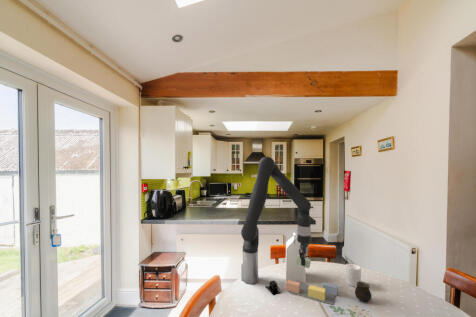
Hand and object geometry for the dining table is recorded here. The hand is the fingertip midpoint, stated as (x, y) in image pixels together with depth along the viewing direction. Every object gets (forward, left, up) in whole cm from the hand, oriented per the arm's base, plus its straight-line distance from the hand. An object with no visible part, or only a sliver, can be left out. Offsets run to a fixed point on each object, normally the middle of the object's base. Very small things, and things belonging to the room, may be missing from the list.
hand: (304, 263), depth 125 cm
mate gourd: (+29, +1, -13) cm, 32 cm away
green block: (-1, 0, -1) cm, 1 cm away
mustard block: (+8, -8, -12) cm, 17 cm away
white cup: (+24, +16, -13) cm, 32 cm away
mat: (+5, -4, -12) cm, 14 cm away
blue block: (+14, 0, -12) cm, 18 cm away
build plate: (-14, -12, -13) cm, 23 cm away
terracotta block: (-4, -8, -12) cm, 15 cm away
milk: (-8, +9, -13) cm, 17 cm away
